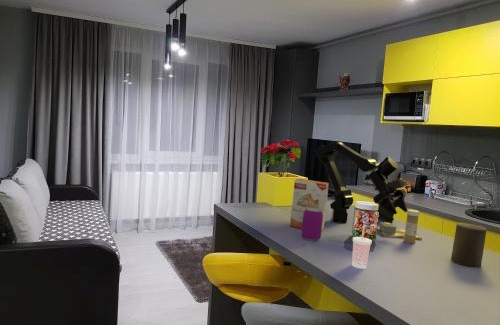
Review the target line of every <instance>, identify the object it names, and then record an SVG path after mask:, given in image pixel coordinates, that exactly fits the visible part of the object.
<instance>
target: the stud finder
mask: <svg viewBox="0 0 500 325" xmlns="http://www.w3.org/2000/svg"><path fill="white" fill-rule="evenodd" d="M379 227H380V228H379V229H380V230H381V231H382V232H384V233H391V234H395V233H396V229H397V227H396V225H394V224H393V222H392V223H387V222H385V221H383V222H382V221H380V222H379Z"/></svg>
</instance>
